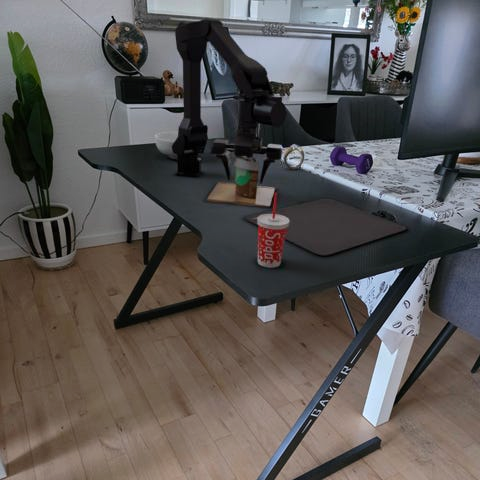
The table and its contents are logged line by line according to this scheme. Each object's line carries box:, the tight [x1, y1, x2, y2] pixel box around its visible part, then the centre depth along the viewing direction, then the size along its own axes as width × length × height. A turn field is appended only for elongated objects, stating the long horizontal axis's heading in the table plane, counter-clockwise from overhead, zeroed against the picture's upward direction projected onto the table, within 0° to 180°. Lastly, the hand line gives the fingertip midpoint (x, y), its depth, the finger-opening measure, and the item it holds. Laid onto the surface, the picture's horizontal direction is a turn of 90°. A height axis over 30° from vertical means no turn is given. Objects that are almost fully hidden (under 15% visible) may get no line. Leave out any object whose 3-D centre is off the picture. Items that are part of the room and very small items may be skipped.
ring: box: [283, 143, 305, 170], centre depth 151 cm, size 7×3×8 cm, turn 100°
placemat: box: [206, 181, 276, 209], centre depth 126 cm, size 17×17×1 cm
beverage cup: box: [257, 192, 290, 269], centre depth 86 cm, size 6×6×14 cm
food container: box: [232, 155, 260, 199], centre depth 123 cm, size 12×6×10 cm, turn 8°
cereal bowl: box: [154, 130, 178, 160], centre depth 156 cm, size 17×17×7 cm
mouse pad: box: [244, 198, 407, 257], centre depth 110 cm, size 32×27×1 cm
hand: (245, 181), depth 124 cm, fingers open, 8 cm apart
